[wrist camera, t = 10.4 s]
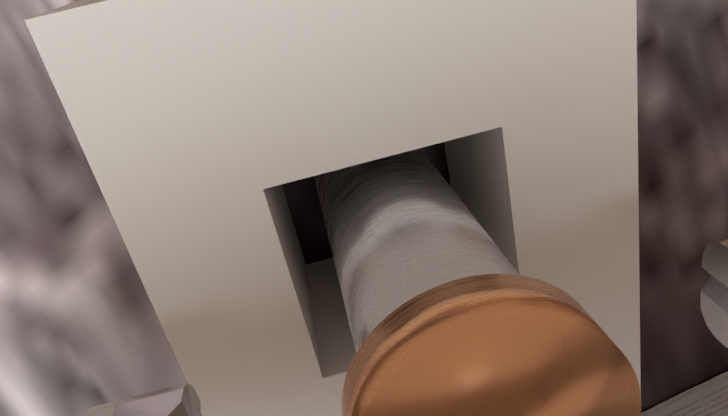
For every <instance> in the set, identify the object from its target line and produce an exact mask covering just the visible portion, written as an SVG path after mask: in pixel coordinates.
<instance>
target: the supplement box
mask: <svg viewBox="0 0 728 416" xmlns="http://www.w3.org/2000/svg"><path fill="white" fill-rule="evenodd" d="M641 416H728V371H727V372H725V373H723V374H720V375H718V376H716V377H714V378H712V379H710V380H708V381H706V382H704V383H702V384H700V385H698V386H695V387H693V388H691V389H689V390H687V391H685V392H683V393H681V394H679V395H677V396H675V397H673V398H671V399H669V400H667V401H665V402H662V403H660V404H658V405H656V406H654V407H652V408H650V409H648V410H646V411H644V412H642V413H641Z"/></svg>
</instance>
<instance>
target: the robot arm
mask: <svg viewBox="0 0 728 416" xmlns="http://www.w3.org/2000/svg"><path fill="white" fill-rule="evenodd" d="M702 268H703V269H704V270H705V271H706V272H707V273H708V275H709V276H710V278H709V279H708V280H707V282H706V283H705V285H704V286H703V288H702V289H701V291H700V309H701V312H702V314H703V317H704V320H705V323H706V325H707V327H708V328H709V329H710V331H711V332H712V334H713V335H714V337H715V338H716V339H718V340H719V341H720V342H721V343H722V344H723V345H724V346H725V347H726V348H728V239H724V240H720V241H717V242H713V243H709V244H707V246H706V248H705V250H704V252H703V256H702ZM200 407H201V402H200V400H199V398H198V395H197V393H196V391H195V389H194V387H193V386H191V385H190V384H188V383H186V384H182V385H178V386H174V387H170V388H166V389H162V390H158V391H154V392H150V393H146V394H142V395H138V396H133V397H129V398H125V399H122V400H120V401H114V402H111V403H107V404H103V405H99V406H95V407H91V408H89V409H87V410H86V411H85V412H84V413H83V414H82V415H81V416H200Z"/></svg>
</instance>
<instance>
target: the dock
mask: <svg viewBox="0 0 728 416" xmlns="http://www.w3.org/2000/svg"><path fill="white" fill-rule="evenodd" d="M25 22H26V24H27V27H28V29H29V31H30V33H31V35H32V38H33V40H34V42H35V44H36V47H37V49H38V51H39V53H40V56H41V58H42V60H43V62H44V64H45V67H46V69H47V71H48V73H49V76H50V78H51V80H52V82H53V85H54V87H55V89H56V91H57V93H58V96H59V98H60V100H61V102H62V105H63V107H64V109H65V111H66V114H67V116H68V118H69V120H70V122H71V125H72V127H73V129H74V131H75V134H76V136H77V138H78V140H79V143H80V145H81V147H82V149H83V151H84V154H85V156H86V158H87V160H88V163H89V165H90V167H91V169H92V172H93V174H94V176H95V178H96V180H97V183H98V185H99V187H100V189H101V192H102V194H103V196H104V198H105V201H106V203H107V205H108V207H109V209H110V212H111V214H112V216H113V218H114V221H115V223H116V225H117V227H118V230H119V232H120V234H121V236H122V238H123V241H124V243H125V245H126V247H127V250H128V252H129V254H130V256H131V259H132V261H133V263H134V265H135V267H136V270H137V272H138V274H139V276H140V279H141V281H142V283H143V285H144V288H145V290H146V292H147V294H148V296H149V299H150V301H151V303H152V305H153V308H154V310H155V312H156V314H157V317H158V319H159V321H160V323H161V325H162V328H163V330H164V332H165V334H166V337H167V339H168V341H169V343H170V346H171V348H172V350H173V352H174V354H175V357H176V359H177V361H178V363H179V366H180V368H181V370H182V372H183V374H184V377H185V379H186V381H187V383H188V384H190V385H191V386H193V387H194V389H195V391H196V393H197V395H198V398H199V400H200V402H201V407H200V412H201V415H202V416H342V404H341V401H342V392H343V386H344V382H345V378H346V375H347V372H348V369H349V367H350V365H351V362H352V360H353V358H354V356H355V355H356V350H355V346H354V342H353V337H352V333H351V329H350V325H349V321H348V317H347V313H346V309H345V304H344V300H343V296H342V292H341V288H340V284H339V280H338V276H337V272H336V267H335V263H334V259H333V258H329V259H326V260H322V261H318V262H314V263H311V264H307V265H306V263H305V260H304V256H303V253H302V250H301V246H300V243H299V239H298V236H297V233H296V229H295V226H294V223H293V219H292V216H291V213H290V209H289V206H288V203H287V199H286V196H285V193H284V189H283V186H282V184H285V183H289V182H293V181H297V180H300V179H304V178H308V177H312V176H316V175H319V174H323V173H327V172H331V171H335V170H339V169H342V168H346V167H350V166H354V165H358V164H361V163H365V162H369V161H373V160H377V159H381V158H384V157H388V156H392V155H396V154H400V153H404V152H407V151H411V150H415V149H419V148H423V147H426V146H430V145H434V144H438V143H442V142H444V148H445V154H446V160H447V166H448V172H449V178H450V185H451V188H452V189H453V190H454V192H455V193H456V194H457V195H458V197H459V198H460V199H461V201H462V202H463V203H464V204H465V206H466V207H467V208H468V209H469V211H470V212H471V213H472V215H473V216H474V217H475V218H476V220H477V221H478V222H479V224H480V225H481V226H482V227H483V229H484V230H485V231H486V232H487V234H488V235H489V236H490V238H491V239H492V240H493V241H494V243H495V244H496V245H497V246H498V248H499V249H500V250H501V252H502V253H503V254H504V255H505V257H506V258H507V259H508V260H509V262H510V263H511V264H512V266H513V267H514V268H515V269H516V271H517V272H518V273H519V274H520V275H521V276H528V277H531V278H535V279H539V280H542V281H545V282H547V283H549V284H551V285H554V286H556V287H558V288H559V289H561V290H563V291H564V292H566V293H567V294H569V295H570V296H571V297H572V298H574V299H575V300H576V301H577V302H578V303H579V304H580V305H581V306H582V307H583V308H584V309H585V310H586V312H587V313H588V314H589V315H590V316H591V317H592V318H593V320H594V321H595V322H596V323H597V324H598V325H599V326H600V327H601V329H602V330H603V331H604V332H605V333H606V334H607V335H608V336H609V338H610V339H611V340H612V341H613V342H614V343H615V344H616V345H617V347H618V348H619V349H620V350H621V351H622V353H623V354H624V355H625V356H626V358H627V359H628V360H629V362H630V364H631V365H632V367H633V369H634V371H635V373H636V376H637V379H638V383H639V386H640V393H641V371H640V281H639V191H638V101H637V11H636V0H79V1H77V2H74V3H71V4H68V5H65V6H63V7H60V8H57V9H54V10H51V11H49V12H46V13H43V14H40V15H37V16H35V17H32V18H29V19H26V20H25Z"/></svg>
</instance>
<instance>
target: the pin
mask: <svg viewBox="0 0 728 416" xmlns="http://www.w3.org/2000/svg"><path fill="white" fill-rule="evenodd" d="M314 180H315V185H316V189H317V193H318V197H319V201H320V206H321V210H322V214H323V218H324V222H325V226H326V230H327V234H328V239H329V243H330V247H331V251H332V255H333V259H334V263H335V267H336V272H337V276H338V280H339V284H340V288H341V292H342V296H343V300H344V304H345V309H346V313H347V317H348V321H349V325H350V329H351V333H352V337H353V342H354V346H355V350H356V355H355V356H354V358H353V360H352V362H351V365H350V367H349V369H348V372H347V375H346V378H345V382H344V386H343V392H342V401H341V404H342V416H641V393H640V386H639V383H638V379H637V376H636V373H635V371H634V369H633V367H632V365H631V364H630V362H629V360H628V359H627V358H626V356H625V355H624V354H623V353H622V351H621V350H620V349H619V348H618V347H617V345H616V344H615V343H614V342H613V341H612V340H611V339H610V338H609V336H608V335H607V334H606V333H605V332H604V331H603V330H602V329H601V327H600V326H599V325H598V324H597V323H596V322H595V321H594V320H593V318H592V317H591V316H590V315H589V314H588V313H587V312H586V310H585V309H584V308H583V307H582V306H581V305H580V304H579V303H578V302H577V301H576V300H575V299H574V298H572V297H571V296H570V295H569V294H567V293H566V292H564V291H563V290H561V289H559V288H558V287H556V286H554V285H551V284H549V283H547V282H545V281H542V280H539V279H535V278H531V277H528V276H521V275H520V274H519V273H518V272H517V271H516V269H515V268H514V267H513V266H512V264H511V263H510V262H509V260H508V259H507V258H506V257H505V255H504V254H503V253H502V252H501V250H500V249H499V248H498V246H497V245H496V244H495V243H494V241H493V240H492V239H491V238H490V236H489V235H488V234H487V232H486V231H485V230H484V229H483V227H482V226H481V225H480V224H479V222H478V221H477V220H476V218H475V217H474V216H473V215H472V213H471V212H470V211H469V209H468V208H467V207H466V206H465V204H464V203H463V202H462V201H461V199H460V198H459V197H458V195H457V194H456V193H455V192H454V190H453V189H452V188H451V187H450V185H449V184H448V183H447V181H446V180H445V179H444V178H443V176H442V175H441V174H440V173H439V171H438V170H437V169H436V167H435V166H434V165H433V164H432V162H431V161H430V160H429V158H428V157H427V156H426V155H425V153H424V152H423V151H422V150H421V148H419V149H415V150H411V151H407V152H404V153H400V154H396V155H392V156H388V157H384V158H381V159H377V160H373V161H369V162H365V163H361V164H358V165H354V166H350V167H346V168H342V169H339V170H335V171H331V172H327V173H323V174H319V175H316V176H314Z"/></svg>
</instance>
